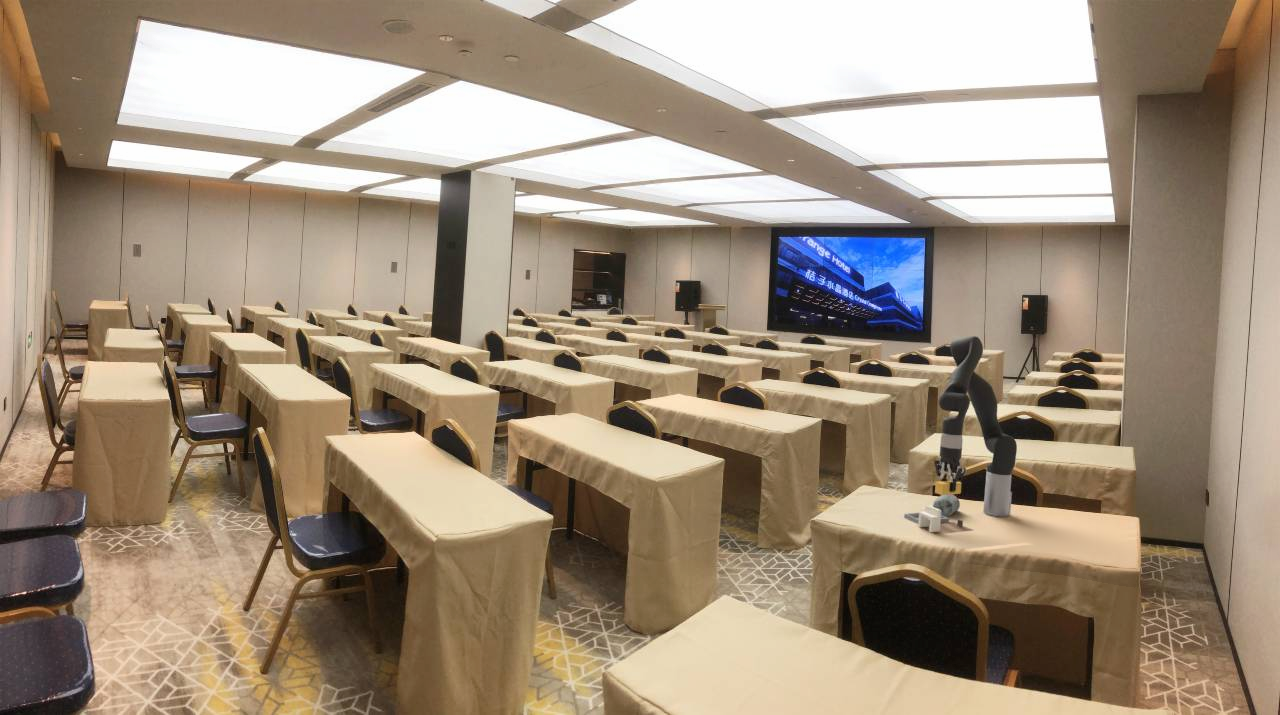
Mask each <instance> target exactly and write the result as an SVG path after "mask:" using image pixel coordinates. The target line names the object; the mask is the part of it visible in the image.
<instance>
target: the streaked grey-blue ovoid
mask: <svg viewBox="0 0 1280 715" xmlns="http://www.w3.org/2000/svg"><path fill="white" fill-rule="evenodd" d="M960 506H961V502H960V500H959V498H958V497H957V496H956V495H955V494H951V495H940V496H938V497H936V499H935V500H934V501H933V504H932V507H934V508H937V509H939V510H941V515H942V516H945V517H947V518H949V517H951V516H952V515H953V514H954V513H956V512H958V510H959V509H960Z"/></svg>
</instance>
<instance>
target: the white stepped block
mask: <svg viewBox="0 0 1280 715" xmlns="http://www.w3.org/2000/svg"><path fill="white" fill-rule="evenodd" d="M918 513H919V517H918V519H919V522H918V523H917V525H918V526H917V527H918V528H921V527H928V526H929V519H930V526H929V531H928V532H929V533H932V532H939V531H940V521H941V510H939V509H937V508H934V507H933V505H931V504H926V505H925V510H924V511H918Z"/></svg>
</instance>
